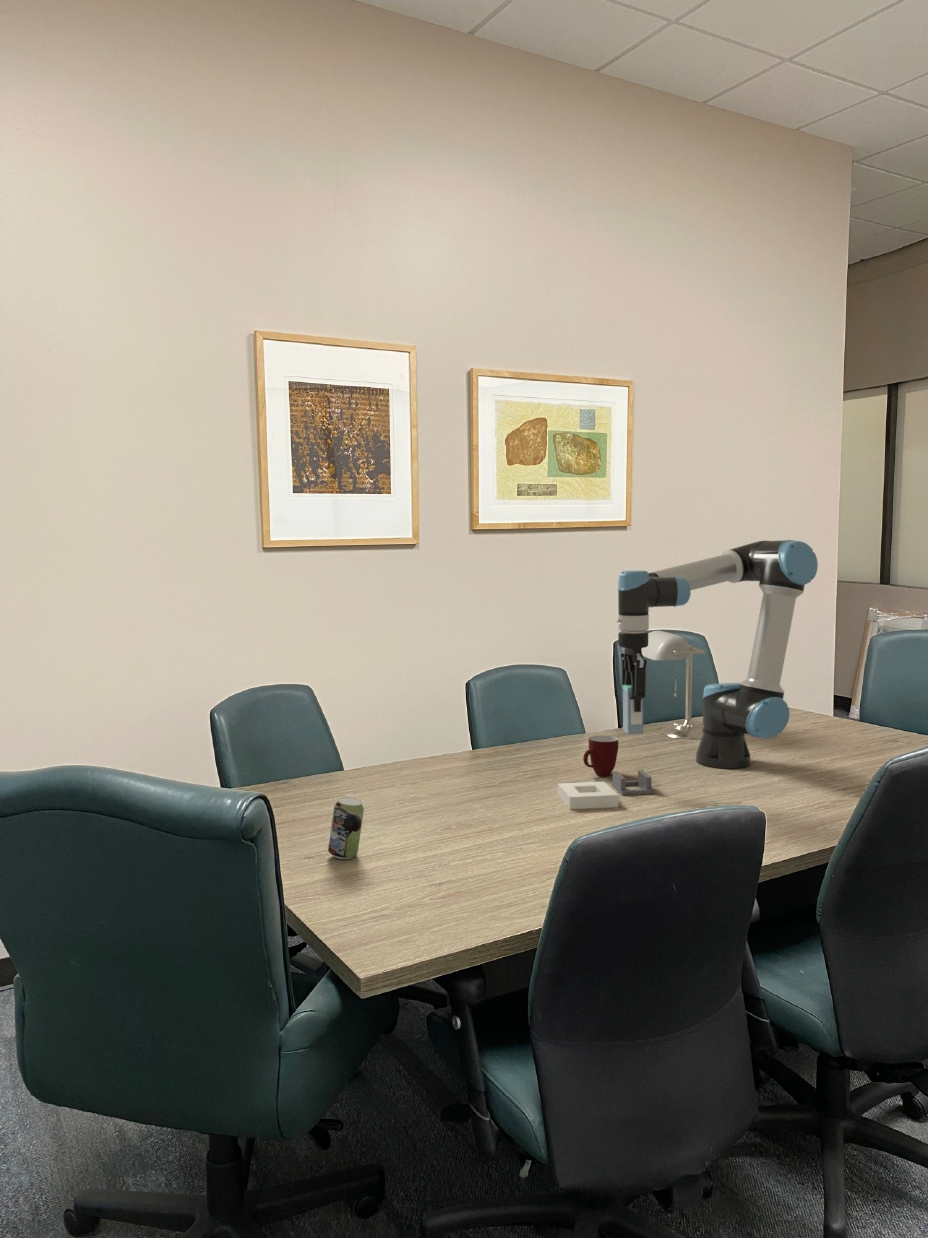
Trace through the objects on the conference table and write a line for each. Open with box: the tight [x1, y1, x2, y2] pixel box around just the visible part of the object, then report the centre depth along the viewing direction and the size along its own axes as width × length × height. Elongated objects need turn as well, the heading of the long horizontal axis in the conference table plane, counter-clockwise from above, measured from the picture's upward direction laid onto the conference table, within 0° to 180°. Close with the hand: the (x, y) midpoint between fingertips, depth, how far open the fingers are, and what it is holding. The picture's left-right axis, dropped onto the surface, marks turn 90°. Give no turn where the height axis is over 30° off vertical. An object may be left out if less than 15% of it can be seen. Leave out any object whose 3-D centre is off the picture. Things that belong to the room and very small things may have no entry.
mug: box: [582, 735, 619, 777], centre depth 240 cm, size 10×8×10 cm
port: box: [557, 781, 619, 810], centre depth 216 cm, size 12×12×3 cm
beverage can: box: [327, 796, 365, 860], centre depth 178 cm, size 6×7×12 cm
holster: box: [610, 769, 654, 796], centre depth 226 cm, size 8×9×4 cm
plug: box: [622, 685, 644, 735], centre depth 224 cm, size 4×4×12 cm
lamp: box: [642, 630, 706, 740], centre depth 290 cm, size 26×24×34 cm
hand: (633, 722), depth 225 cm, fingers closed on plug, 4 cm apart
